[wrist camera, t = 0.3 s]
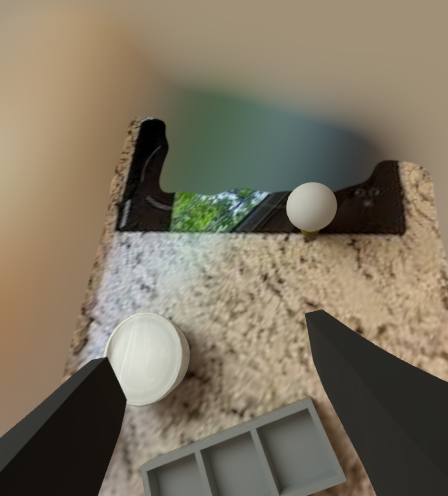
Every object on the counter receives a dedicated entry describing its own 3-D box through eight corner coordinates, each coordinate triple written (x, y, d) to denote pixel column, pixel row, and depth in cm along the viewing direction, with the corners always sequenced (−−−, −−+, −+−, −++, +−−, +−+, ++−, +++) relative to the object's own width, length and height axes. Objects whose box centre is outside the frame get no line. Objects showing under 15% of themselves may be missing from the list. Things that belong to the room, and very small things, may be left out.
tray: (343, 471, 30) (347, 481, 28) (167, 536, 32) (155, 550, 30) (309, 395, 33) (310, 398, 31) (151, 458, 35) (139, 466, 33)
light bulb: (326, 253, 39) (333, 221, 30) (284, 244, 41) (279, 212, 32) (335, 216, 41) (344, 175, 32) (294, 209, 43) (291, 169, 34)
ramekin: (117, 336, 43) (94, 333, 38) (182, 304, 42) (166, 297, 37) (135, 415, 38) (111, 423, 33) (208, 380, 37) (194, 383, 32)
